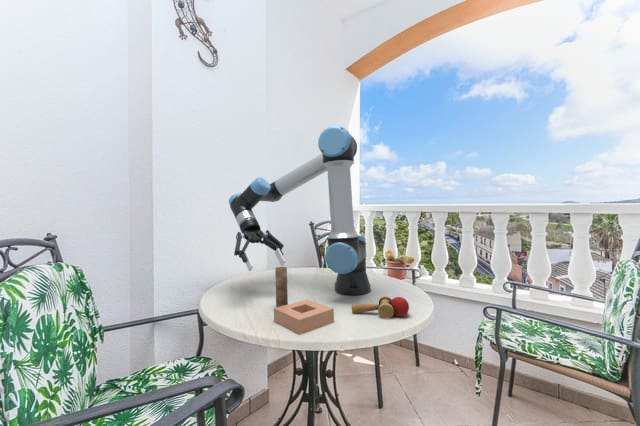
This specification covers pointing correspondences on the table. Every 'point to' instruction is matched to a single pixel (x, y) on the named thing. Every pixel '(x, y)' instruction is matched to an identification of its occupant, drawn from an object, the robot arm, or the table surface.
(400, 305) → the kendama
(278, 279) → the peg
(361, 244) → the robot arm
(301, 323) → the socket block
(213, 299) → the table surface
